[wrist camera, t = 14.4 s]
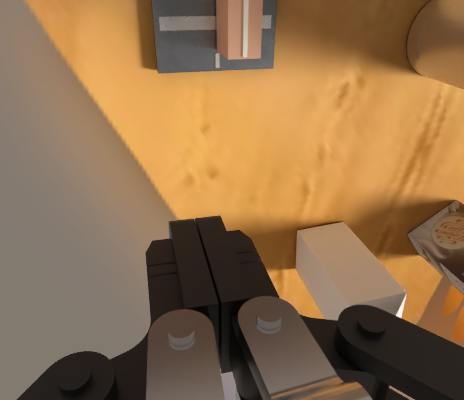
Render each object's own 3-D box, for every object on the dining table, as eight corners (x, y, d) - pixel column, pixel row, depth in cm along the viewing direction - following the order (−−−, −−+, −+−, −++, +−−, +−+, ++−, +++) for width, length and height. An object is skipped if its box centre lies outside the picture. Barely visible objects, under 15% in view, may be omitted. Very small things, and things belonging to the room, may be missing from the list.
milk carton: (294, 268, 58) (359, 379, 42) (296, 229, 55) (367, 333, 39) (339, 259, 60) (418, 364, 44) (343, 220, 56) (431, 318, 40)
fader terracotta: (247, -7, 37) (263, -5, 33) (246, 49, 40) (261, 58, 35) (216, -7, 36) (228, -4, 32) (216, 50, 39) (228, 60, 35)
